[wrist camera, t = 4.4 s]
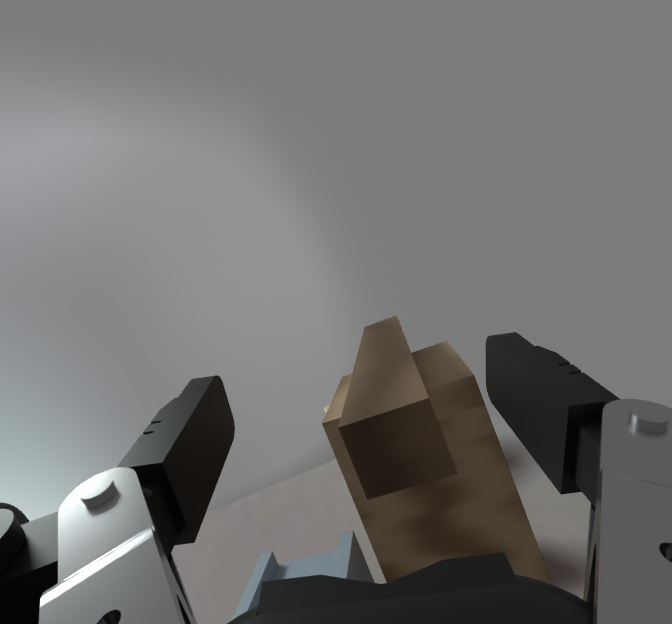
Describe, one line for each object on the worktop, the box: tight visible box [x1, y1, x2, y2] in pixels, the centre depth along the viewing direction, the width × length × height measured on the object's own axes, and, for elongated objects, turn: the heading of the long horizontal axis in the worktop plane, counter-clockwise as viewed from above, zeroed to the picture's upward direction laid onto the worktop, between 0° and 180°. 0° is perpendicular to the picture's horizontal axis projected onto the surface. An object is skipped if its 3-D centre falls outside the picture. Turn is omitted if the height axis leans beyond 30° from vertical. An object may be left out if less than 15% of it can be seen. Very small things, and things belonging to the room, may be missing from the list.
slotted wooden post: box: [322, 341, 552, 585], centre depth 28 cm, size 10×10×32 cm
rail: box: [338, 316, 458, 500], centre depth 25 cm, size 4×24×3 cm, turn 172°
